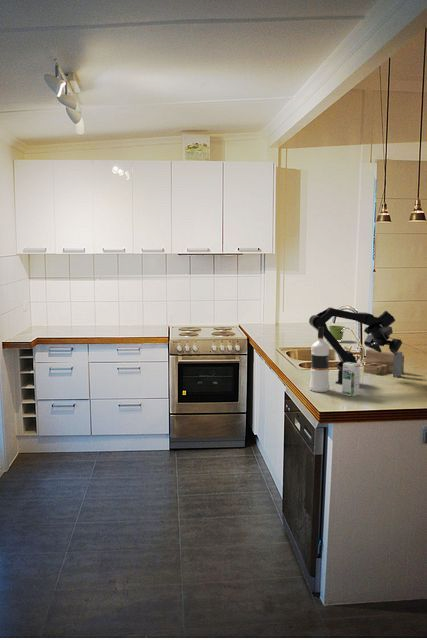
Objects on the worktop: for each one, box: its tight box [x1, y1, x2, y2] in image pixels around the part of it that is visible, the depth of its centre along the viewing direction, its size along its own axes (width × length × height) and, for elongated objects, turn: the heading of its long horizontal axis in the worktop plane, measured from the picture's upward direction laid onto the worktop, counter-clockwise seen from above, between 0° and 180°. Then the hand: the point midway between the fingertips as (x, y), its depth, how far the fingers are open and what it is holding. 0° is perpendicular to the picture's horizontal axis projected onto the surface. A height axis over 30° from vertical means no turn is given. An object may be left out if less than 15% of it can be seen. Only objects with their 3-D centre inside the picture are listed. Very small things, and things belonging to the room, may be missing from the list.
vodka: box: [308, 327, 331, 393], centre depth 251 cm, size 9×9×30 cm
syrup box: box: [341, 362, 361, 397], centre depth 244 cm, size 6×6×14 cm
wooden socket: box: [362, 348, 405, 376], centre depth 291 cm, size 14×22×10 cm, turn 39°
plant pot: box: [328, 325, 346, 340], centre depth 387 cm, size 12×12×11 cm
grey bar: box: [392, 350, 403, 379], centre depth 279 cm, size 4×2×13 cm, turn 129°
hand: (388, 353), depth 274 cm, fingers open, 9 cm apart
